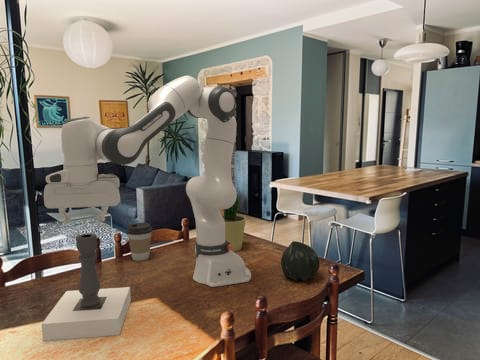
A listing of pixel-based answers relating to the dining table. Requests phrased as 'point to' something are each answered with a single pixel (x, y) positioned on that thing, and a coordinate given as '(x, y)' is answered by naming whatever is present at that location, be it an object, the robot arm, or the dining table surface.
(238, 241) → the potted cactus
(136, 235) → the coffee cup
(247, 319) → the dining table surface
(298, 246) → the squash
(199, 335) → the dining table surface
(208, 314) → the dining table surface
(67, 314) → the socket block
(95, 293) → the candle holder
